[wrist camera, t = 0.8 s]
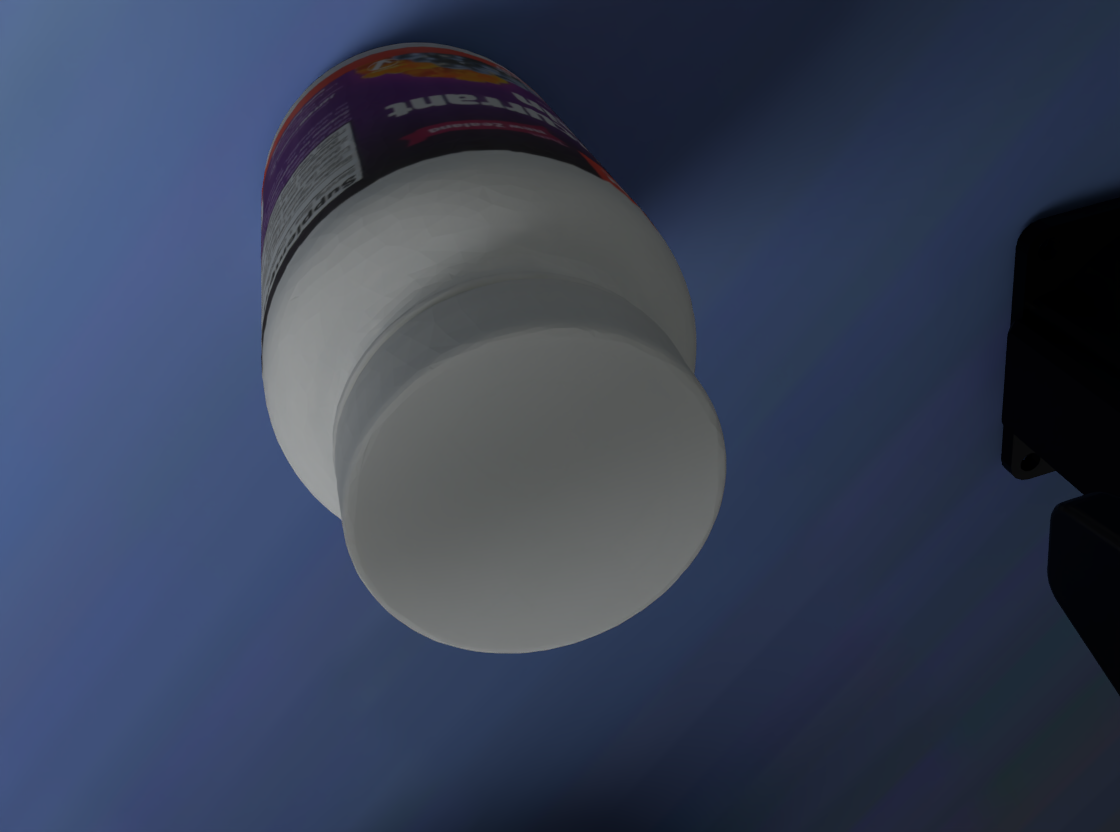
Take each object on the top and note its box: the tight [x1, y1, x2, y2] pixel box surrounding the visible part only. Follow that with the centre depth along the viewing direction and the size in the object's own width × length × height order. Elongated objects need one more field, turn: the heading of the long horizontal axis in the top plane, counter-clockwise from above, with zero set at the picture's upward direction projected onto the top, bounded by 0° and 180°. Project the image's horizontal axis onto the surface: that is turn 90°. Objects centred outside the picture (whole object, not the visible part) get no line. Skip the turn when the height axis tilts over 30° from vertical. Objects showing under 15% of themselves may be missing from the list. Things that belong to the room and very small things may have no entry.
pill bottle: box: [261, 42, 726, 653], centre depth 15 cm, size 5×5×10 cm
